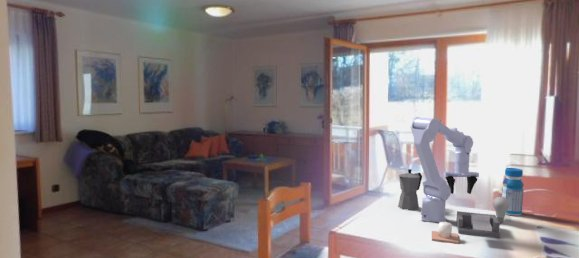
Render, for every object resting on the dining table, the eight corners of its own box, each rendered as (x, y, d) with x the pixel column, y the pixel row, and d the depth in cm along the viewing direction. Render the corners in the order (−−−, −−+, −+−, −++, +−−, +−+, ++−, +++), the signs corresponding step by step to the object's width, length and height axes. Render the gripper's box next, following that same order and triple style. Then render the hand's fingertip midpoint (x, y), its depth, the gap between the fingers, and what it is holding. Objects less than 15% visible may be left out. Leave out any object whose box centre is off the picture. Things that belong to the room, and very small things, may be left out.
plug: (438, 237, 147) (438, 224, 147) (438, 233, 151) (439, 221, 151) (451, 238, 146) (452, 226, 145) (451, 235, 150) (451, 222, 149)
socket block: (458, 233, 153) (459, 220, 153) (456, 223, 166) (456, 211, 165) (499, 238, 149) (500, 224, 148) (494, 227, 161) (495, 214, 161)
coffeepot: (407, 212, 180) (409, 172, 179) (390, 207, 188) (392, 168, 187) (428, 207, 189) (430, 168, 188) (412, 202, 197) (413, 165, 196)
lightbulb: (510, 225, 163) (512, 199, 162) (494, 224, 164) (495, 198, 163) (505, 221, 169) (507, 195, 168) (489, 220, 170) (491, 194, 169)
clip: (473, 229, 143) (473, 220, 143) (471, 222, 150) (471, 214, 150) (492, 231, 141) (492, 222, 141) (488, 224, 148) (489, 215, 148)
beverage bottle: (513, 217, 175) (516, 171, 173) (496, 211, 183) (498, 167, 181) (526, 215, 178) (529, 170, 177) (509, 210, 186) (512, 166, 184)
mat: (431, 240, 146) (432, 238, 146) (431, 232, 154) (431, 230, 154) (459, 243, 143) (459, 241, 143) (457, 235, 151) (457, 233, 151)
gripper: (449, 163, 172) (447, 195, 173) (483, 164, 172) (481, 195, 174) (442, 161, 179) (441, 191, 180) (475, 161, 179) (473, 191, 181)
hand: (460, 193), depth 177 cm, fingers open, 7 cm apart
